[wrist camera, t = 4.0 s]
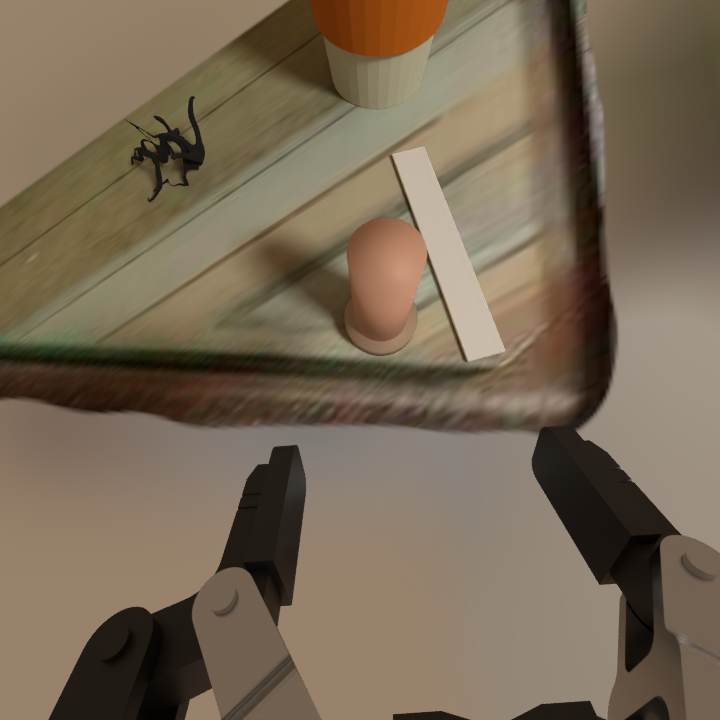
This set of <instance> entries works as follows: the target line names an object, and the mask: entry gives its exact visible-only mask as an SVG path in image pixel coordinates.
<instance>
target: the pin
mask: <svg viewBox="0 0 720 720" xmlns="http://www.w3.org/2000/svg"><path fill="white" fill-rule="evenodd" d="M426 259H427V248H426V244H425V241H424V239H423V237H422V235H421V234H420V233H419V231H418V230H417V229H416V228H415V227H413V226H412V225H411V224H409V223H407V222H405V221H403V220H400V219H396V218H378V219H374V220H371V221H369V222H367V223H365V224H363V225H362V226H361V227H359V228H358V229H357V230H356V231H355V232H354V234H353V235H352V237H351V239H350V241H349V243H348V247H347V261H348V269H349V277H350V285H351V293H352V297H351V298H350V299H349V301H348V303H347V305H346V308H345V313H344V322H345V327H346V331H347V334H348V336H349V338H350V340H351V341H352V343H353V344H354V345H355V346H356V347H357V348H359V349H360V350H362V351H363V352H365V353H368V354H371V355H376V356H385V355H390V354H393V353H396V352H398V351H399V350H401V349H402V348H404V347H405V346H406V345H407V344H408V342H409V341H410V340H411V338H412V336H413V334H414V331H415V329H416V325H417V310H416V306H415V304H414V302H413V300H414V297H415V294H416V291H417V288H418V285H419V282H420V279H421V276H422V273H423V269H424V266H425V263H426Z"/></svg>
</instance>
